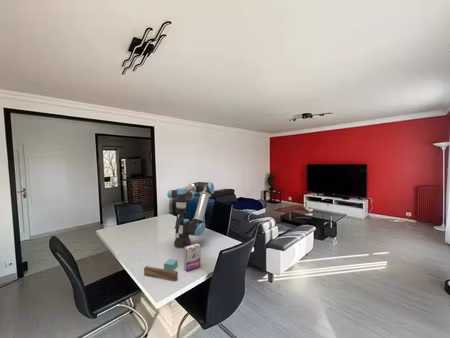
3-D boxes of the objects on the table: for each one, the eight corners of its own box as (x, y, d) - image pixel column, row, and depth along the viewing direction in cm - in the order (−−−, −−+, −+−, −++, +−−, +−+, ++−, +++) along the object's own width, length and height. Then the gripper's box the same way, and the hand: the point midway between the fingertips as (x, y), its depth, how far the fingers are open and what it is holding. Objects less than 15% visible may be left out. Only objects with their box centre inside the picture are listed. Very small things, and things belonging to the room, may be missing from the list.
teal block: (169, 265, 150) (169, 259, 150) (177, 266, 148) (177, 260, 148) (163, 269, 143) (163, 263, 143) (172, 271, 141) (172, 264, 141)
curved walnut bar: (146, 273, 138) (146, 266, 138) (177, 279, 131) (177, 271, 131) (144, 275, 135) (144, 267, 135) (175, 281, 129) (175, 273, 129)
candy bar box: (197, 264, 150) (197, 242, 150) (200, 267, 146) (200, 245, 146) (183, 269, 144) (183, 246, 144) (186, 272, 140) (186, 248, 139)
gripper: (179, 206, 170) (177, 231, 168) (172, 209, 145) (169, 239, 143) (188, 206, 170) (186, 232, 168) (182, 209, 145) (180, 239, 143)
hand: (178, 235), depth 155 cm, fingers open, 13 cm apart
